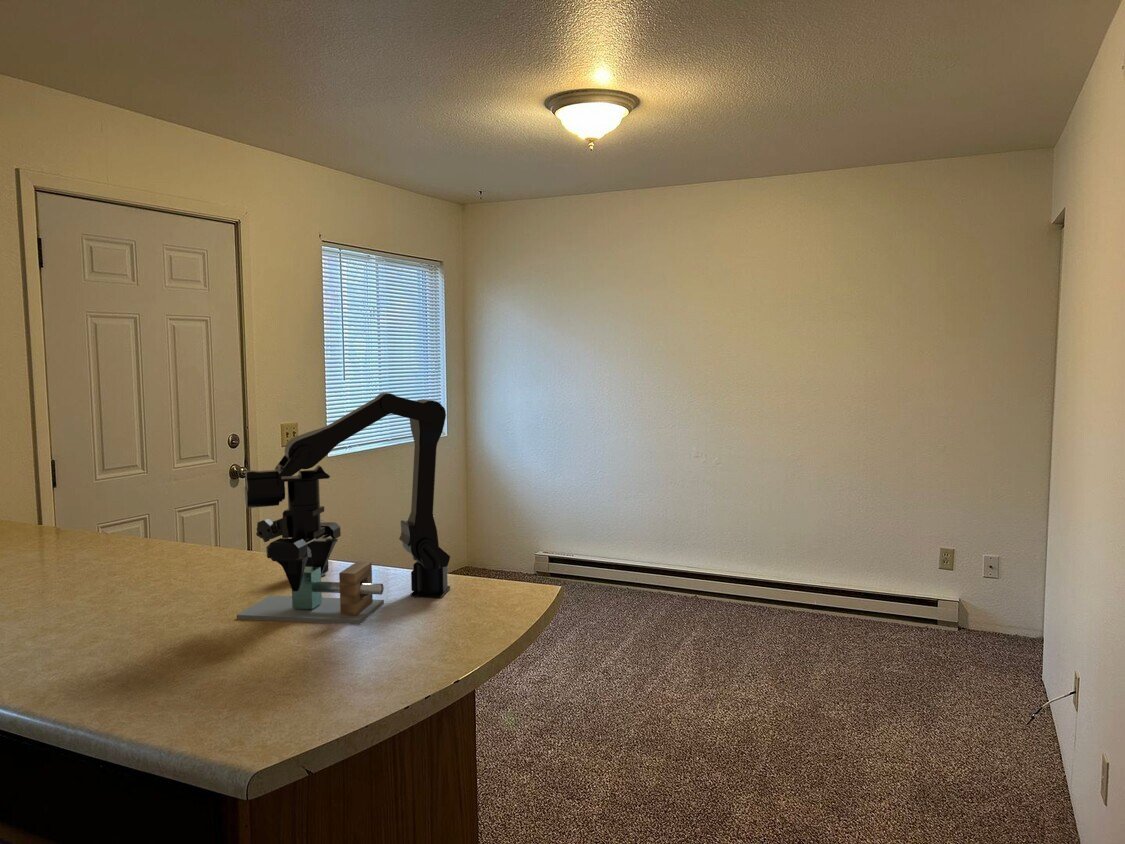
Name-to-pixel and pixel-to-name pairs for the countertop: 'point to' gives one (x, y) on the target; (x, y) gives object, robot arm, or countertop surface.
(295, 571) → the robot arm
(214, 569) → the countertop surface
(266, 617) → the base board
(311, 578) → the green cube on rod
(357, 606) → the square wooden collar
